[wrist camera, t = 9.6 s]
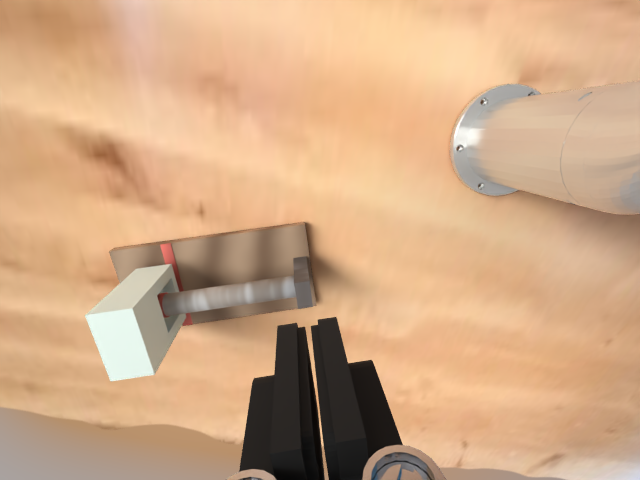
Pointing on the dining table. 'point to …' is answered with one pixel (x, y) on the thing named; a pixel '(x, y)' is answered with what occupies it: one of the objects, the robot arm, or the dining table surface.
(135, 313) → the sleeve block
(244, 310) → the rod stand
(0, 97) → the dining table surface
